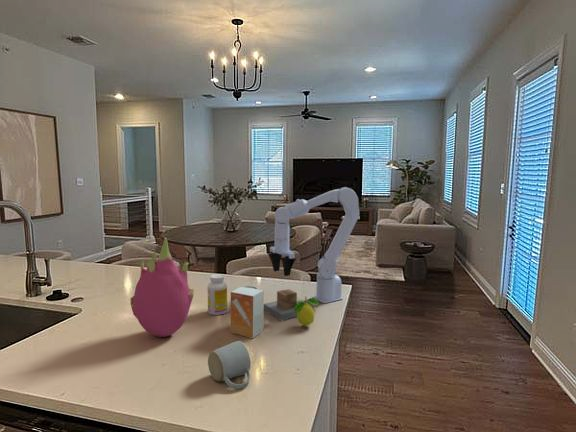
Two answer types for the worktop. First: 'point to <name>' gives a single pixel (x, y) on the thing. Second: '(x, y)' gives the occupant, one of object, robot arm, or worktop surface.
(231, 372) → the ceramic mug
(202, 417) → the worktop surface
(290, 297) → the walnut block
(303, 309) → the lemon
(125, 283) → the worktop surface
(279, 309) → the slate tile
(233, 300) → the small box
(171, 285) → the pink dragon fruit
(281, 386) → the worktop surface
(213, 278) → the supplement bottle
